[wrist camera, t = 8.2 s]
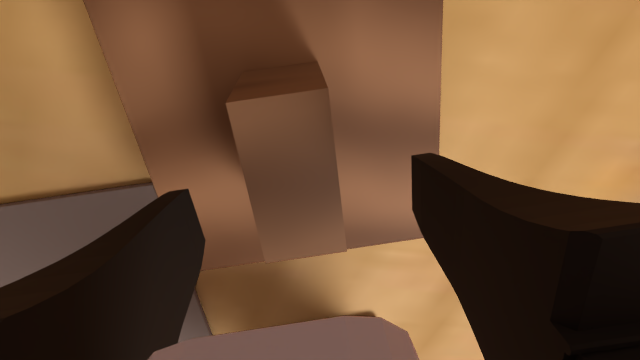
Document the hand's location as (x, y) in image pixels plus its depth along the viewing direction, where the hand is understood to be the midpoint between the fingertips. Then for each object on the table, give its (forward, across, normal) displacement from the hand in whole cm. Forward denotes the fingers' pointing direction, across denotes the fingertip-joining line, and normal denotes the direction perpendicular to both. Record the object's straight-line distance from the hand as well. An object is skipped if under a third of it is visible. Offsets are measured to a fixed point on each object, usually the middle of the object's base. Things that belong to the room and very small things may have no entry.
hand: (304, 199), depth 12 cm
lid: (+6, 0, 0) cm, 6 cm away
